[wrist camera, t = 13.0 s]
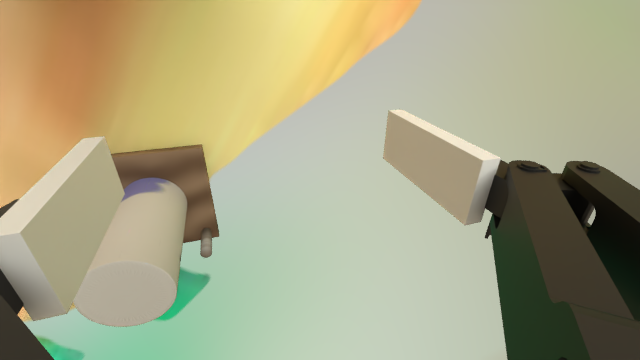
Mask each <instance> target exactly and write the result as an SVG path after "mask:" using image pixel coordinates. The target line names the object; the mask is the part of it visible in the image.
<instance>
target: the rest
mask: <svg viewBox="0 0 640 360" xmlns="http://www.w3.org/2000/svg"><path fill="white" fill-rule="evenodd" d="M111 156H112V159H113V162H114V164H115V167H116V170H117V173H118V176H119V179H120V181H121V184H122V187H123V190H124V189H125V188H126V187H127V186H128V185H129V184H131V183H133V182H134V181H137V180H140V179H144V178H160V179H165V180H168V181H170V182H172V183H174V184H175V185H177V186H178V187H179V188H180V189H181V190H182V191H183V192H184V194H185V196H186V199H187V212H186V221H185V229H184V237H183V243H186V242H192V241H197V240H201V253H200V254H201V256H202V257H205V258H207V257H209V256H211V254H212V238H213V237H219V230H218V224H217V220H216V214H215V209H214V204H213V199H212V195H211V189H210V184H209V179H208V173H207V168H206V163H205V158H204V153H203V148H202V145H193V146H183V147H174V148H164V149H155V150H145V151H136V152H126V153H117V154H111Z"/></svg>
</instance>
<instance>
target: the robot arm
mask: <svg viewBox="0 0 640 360" xmlns="http://www.w3.org/2000/svg"><path fill="white" fill-rule="evenodd" d="M383 158H384V159H385V160H386V161H387V162H388V163H390V164H391V165H392V166H393V167H395V168H396V169H397V170H398V171H399V172H401V173H402V174H403V175H404V176H405V177H407V178H408V179H409V180H410V181H412V182H413V183H414V184H415V185H417V186H418V187H419V188H420V189H421V190H423V191H424V192H425V193H426V194H427V195H429V196H430V197H431V198H432V199H434V200H435V201H436V202H437V203H438V204H440V205H441V206H442V207H443V208H444V209H446V210H447V211H448V212H449V213H450V214H452V215H453V216H454V217H456V218H457V219H458V220H459V221H460V222H462V223H463V224H464V225H469V224H473V223H478V222H481V220H482V216H483V213H484V210H485V208H486V209H487V210H489V211H490V212H492V213H493V214H492V217H491V220H490V223H489V226H488V229H487V232H486V235H485V238H488V237H489V235H491V236H492V243H493V250H494V259H495V266H496V274H497V282H498V289H499V297H500V305H501V313H502V320H503V328H504V335H505V343H506V351H507V359H508V360H640V190H638V189H637V188H635V187H634V186H632V185H631V184H629V183H628V182H626V181H625V180H623V179H622V178H620V177H619V176H617V175H615V174H614V173H612V172H611V171H609V170H608V169H606V168H604V167H602V166H599V165H597V164H596V163H592V162H588V161H582V162H581V161H570V162H567V163H566V166H565V168H564V171H563V173H562V174H557V173H551V171H550V170H549V169H548V168H546V167H545V166H542V165H540V164H538V163H535V162H532V161H521V160H519V161H518V160H517V161H511V162H509V164H508V163H506V162H504V161H502V160H500V159H501V158H500V157H498V156H496V155H494V154H491V153H490V152H487V151H485V150H483V149H481V148H479V147H477V146H475V145H473V144H471V143H469V142H467V141H465V140H463V139H461V138H459V137H457V136H455V135H453V134H451V133H448V132H446V131H444V130H442V129H440V128H438V127H436V126H434V125H432V124H430V123H428V122H426V121H424V120H422V119H420V118H418V117H416V116H414V115H412V114H409V113H407V112H405V111H403V110H389V111H388V119H387V128H386V137H385V146H384V155H383ZM124 195H125V193H124V190H123V187H122V184H121V181H120V179H119V176H118V173H117V170H116V167H115V164H114V162H113V159H112V156H111V153H110V150H109V148H108V145H107V142H106V139H105V136H103V137H92V138H83V139H82V140H81V141H80V142H79V143H78V144H77V145H76V146H74V147H73V148H72V149H71V150H70V151H69V152H68V153H67V154H66V155H65V156H64V157H63V158H62V159H61V160H60V161H59V162H58V163H57V164H56V165H55V166H54V167H53V168H52V169H51V170H49V171H48V172H47V173H46V174H45V175H44V176H43V177H42V178H41V179H40V180H39V181H38V182H37V183H36V184H35V185H34V186H33V187H32V188H31V189H30V190H29V191H28V192H27V193H26V194H24V195H23V196H22V197H21V198H20V199H17V200H14V201H13V202H11V203H9V204H7V205H5V206H4V207H2V208H0V360H54V359H53V358H52V356H51V355H50V354H49V353H48V352H47V350H46V349H45V348H44V347H43V346H42V344H41V343H40V342H39V341H38V339H37V338H36V337H35V336H34V335H33V333H32V332H31V331H30V330H29V329H28V327H27V326H26V325H25V324H24V323H23V321H22V320H21V319H20V318H19V317H18V315H17V314H18V313H19V311H20V310H21V308H22V307H24V308H25V310H26V311H27V313H28V314H29V315H30V317H31V318H32V320H33V321H36V320H41V319H45V318H50V317H54V316H59V315H63V314H67V313H68V311H69V309H70V307H71V305H72V303H73V301H74V299H75V297H76V294H77V292H78V290H79V288H80V286H81V284H82V282H83V280H84V278H85V276H86V274H87V272H88V269H89V267H90V265H91V263H92V261H93V259H94V257H95V255H96V253H97V251H98V249H99V247H100V244H101V242H102V240H103V238H104V236H105V234H106V232H107V230H108V228H109V226H110V224H111V222H112V220H113V217H114V215H115V213H116V211H117V209H118V207H119V205H120V203H121V201H122V199H123V197H124ZM594 208H595V210H596V216H595V219H594V221H593V223H592V225H590V224H589V223H588V222H587V221H588V219H589V218H590V216H591V214H592V212H593V210H594Z"/></svg>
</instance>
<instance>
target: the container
mask: <svg viewBox="0 0 640 360" xmlns="http://www.w3.org/2000/svg"><path fill="white" fill-rule="evenodd" d="M124 193H125V195H124V197H123V199H122V201H121V203H120V205H119V207H118V209H117V211H116V213H115V215H114V217H113V220H112V222H111V224H110V226H109V228H108V230H107V232H106V234H105V236H104V238H103V240H102V242H101V244H100V247H99V249H98V251H97V253H96V255H95V257H94V259H93V261H92V263H91V265H90V267H89V269H88V272H87V274H86V276H85V278H84V280H83V282H82V284H81V286H80V288H79V290H78V292H77V294H76V297H75V299H74V301H73V302H74V305H75V307H76V308H77V310H78V311H79V312H80V313H81V314H82V315H83V316H85V317H86V318H88V319H89V320H91V321H94V322H96V323H99V324H103V325H107V326H114V327H127V326H135V325H140V324H144V323H147V322H149V321H152V320H154V319H156V318H158V317H160V316H161V315H163V314H164V313H165V312H166V311H167V310H168V309H169V308H170V307H171V306H172V304H173V303H174V301H175V298H176V294H177V286H178V278H179V270H180V261H181V253H182V245H183V237H184V229H185V221H186V212H187V199H186V196H185V194H184V192H183V191H182V190H181V189H180V188H179V187H178V186H177V185H175V184H174V183H172V182H170V181H168V180H165V179H160V178H144V179H140V180H137V181H134V182H133V183H131V184H129V185H128V186H127V187H126V188H125V189H124Z"/></svg>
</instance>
